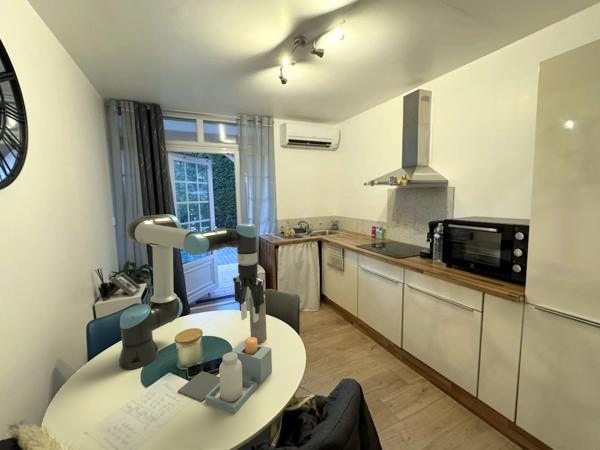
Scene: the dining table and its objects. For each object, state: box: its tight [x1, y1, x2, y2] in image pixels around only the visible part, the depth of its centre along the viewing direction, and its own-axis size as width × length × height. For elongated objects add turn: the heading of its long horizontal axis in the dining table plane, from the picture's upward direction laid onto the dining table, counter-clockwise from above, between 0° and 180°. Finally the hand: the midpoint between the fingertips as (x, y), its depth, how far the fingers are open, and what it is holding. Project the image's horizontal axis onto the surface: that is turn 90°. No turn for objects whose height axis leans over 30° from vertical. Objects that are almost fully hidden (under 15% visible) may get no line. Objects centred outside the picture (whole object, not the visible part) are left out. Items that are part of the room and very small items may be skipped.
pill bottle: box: [218, 351, 244, 403], centre depth 95 cm, size 8×8×15 cm
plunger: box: [244, 336, 258, 355], centre depth 107 cm, size 5×5×7 cm
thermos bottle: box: [248, 284, 268, 344], centre depth 132 cm, size 8×8×28 cm
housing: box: [204, 340, 273, 414], centre depth 100 cm, size 14×24×10 cm, turn 156°
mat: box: [177, 370, 220, 402], centre depth 101 cm, size 12×12×1 cm
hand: (250, 319), depth 105 cm, fingers open, 5 cm apart
